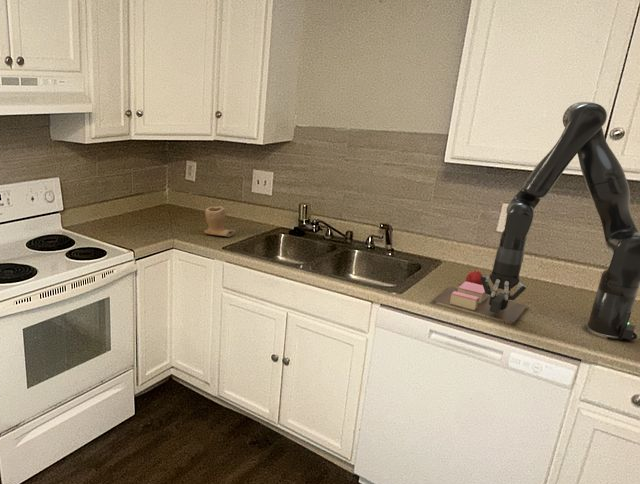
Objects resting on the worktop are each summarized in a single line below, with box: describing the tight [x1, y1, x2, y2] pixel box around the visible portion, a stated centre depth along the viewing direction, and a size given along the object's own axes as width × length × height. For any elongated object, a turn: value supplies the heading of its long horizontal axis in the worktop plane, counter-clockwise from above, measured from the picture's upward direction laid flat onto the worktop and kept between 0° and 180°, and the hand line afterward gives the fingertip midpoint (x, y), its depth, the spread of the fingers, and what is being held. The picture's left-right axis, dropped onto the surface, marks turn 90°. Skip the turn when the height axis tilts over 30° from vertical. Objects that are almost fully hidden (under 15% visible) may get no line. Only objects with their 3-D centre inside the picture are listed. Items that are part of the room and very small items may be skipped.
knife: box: [490, 291, 504, 313], centre depth 179 cm, size 19×2×4 cm, turn 135°
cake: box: [457, 281, 489, 304], centre depth 190 cm, size 8×9×4 cm
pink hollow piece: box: [204, 205, 237, 238], centre depth 267 cm, size 15×12×15 cm
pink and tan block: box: [450, 291, 479, 310], centre depth 182 cm, size 8×3×4 cm, turn 46°
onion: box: [465, 268, 483, 285], centre depth 200 cm, size 6×6×8 cm
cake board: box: [432, 286, 528, 324], centre depth 185 cm, size 25×20×1 cm
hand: (497, 307), depth 177 cm, fingers closed on knife, 2 cm apart
